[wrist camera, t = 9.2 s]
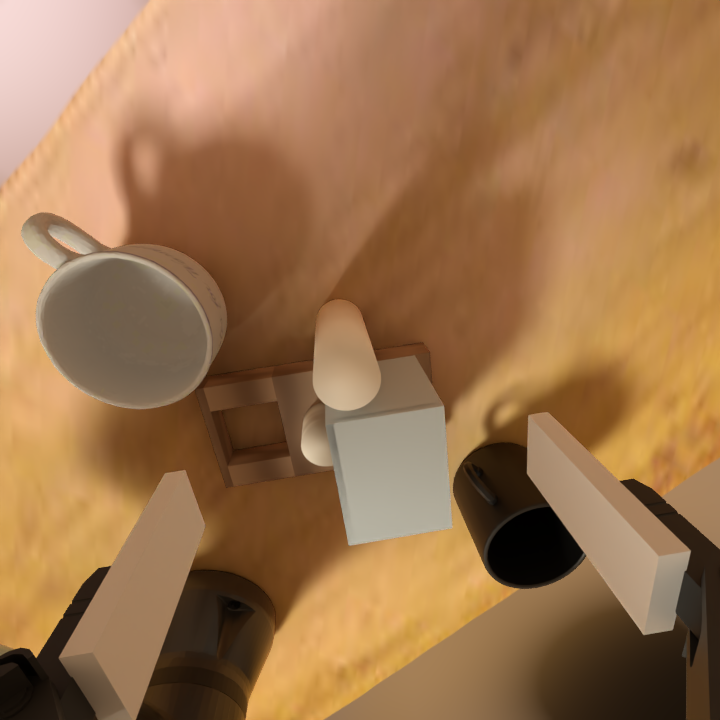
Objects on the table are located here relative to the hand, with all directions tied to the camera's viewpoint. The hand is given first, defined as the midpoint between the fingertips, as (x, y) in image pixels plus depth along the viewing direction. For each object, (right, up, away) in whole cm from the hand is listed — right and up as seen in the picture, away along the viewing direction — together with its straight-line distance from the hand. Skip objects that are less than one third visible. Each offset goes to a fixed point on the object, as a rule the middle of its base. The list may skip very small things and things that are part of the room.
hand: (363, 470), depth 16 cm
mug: (+13, -7, +27) cm, 31 cm away
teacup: (-16, +10, +17) cm, 26 cm away
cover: (+1, 0, +20) cm, 20 cm away
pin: (-2, +7, +19) cm, 21 cm away
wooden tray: (-3, 0, +22) cm, 22 cm away
